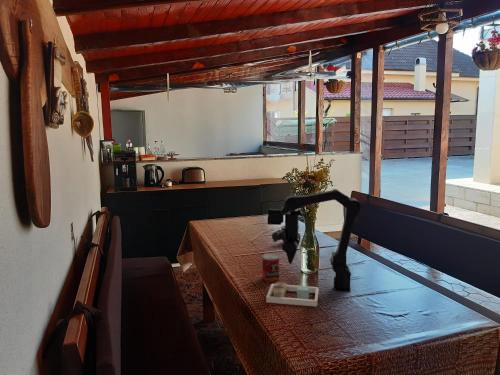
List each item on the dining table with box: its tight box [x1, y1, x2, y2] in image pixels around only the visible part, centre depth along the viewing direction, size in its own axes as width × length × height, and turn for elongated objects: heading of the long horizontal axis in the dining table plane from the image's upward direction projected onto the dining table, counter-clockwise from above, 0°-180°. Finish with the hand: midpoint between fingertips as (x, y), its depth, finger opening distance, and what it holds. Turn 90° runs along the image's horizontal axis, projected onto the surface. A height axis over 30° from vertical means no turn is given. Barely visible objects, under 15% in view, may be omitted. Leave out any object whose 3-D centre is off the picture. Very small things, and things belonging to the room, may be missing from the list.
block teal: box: [296, 284, 310, 299], centre depth 168 cm, size 4×4×4 cm
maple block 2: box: [273, 289, 285, 298], centre depth 167 cm, size 4×4×4 cm
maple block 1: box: [275, 281, 288, 296], centre depth 173 cm, size 4×4×4 cm
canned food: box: [262, 253, 280, 283], centre depth 188 cm, size 8×8×11 cm
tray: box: [265, 283, 319, 307], centre depth 169 cm, size 20×14×2 cm
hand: (291, 260), depth 179 cm, fingers open, 9 cm apart
